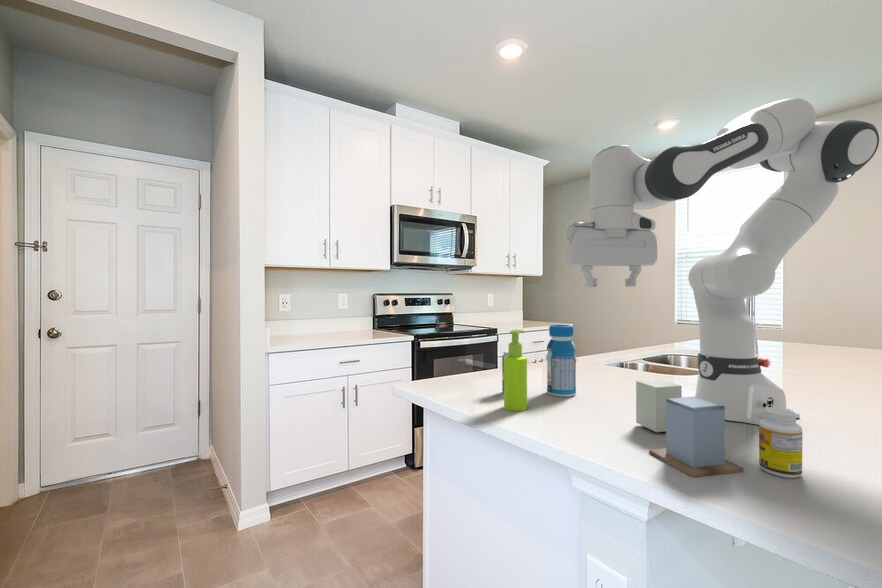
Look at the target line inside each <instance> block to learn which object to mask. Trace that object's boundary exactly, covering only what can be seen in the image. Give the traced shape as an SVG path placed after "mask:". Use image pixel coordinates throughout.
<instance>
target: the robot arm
mask: <svg viewBox="0 0 882 588" xmlns="http://www.w3.org/2000/svg"><path fill="white" fill-rule="evenodd" d="M816 113H817V112H816V110H815V107H814V106H813V104H812V103H811V102H809V101H808V100H806V99H804V98H801V97H790V98H789V97H788V98H785V99H781V100H777V101H773V102H771V103H768V104H764V105H761V106H760V107H759V106H758V107H757V108H755V109H752V110H749V111H748V112H746V113H744V114H742V115H740V116H738V117H736V118H735V119H733V120H731V121H730V122H728V124H725V126H723V127H722V128H720V129H719V131H718V132H717V135H716V137H714V138H712V139H709V140H707V141H706V142H704V143H701V144H693V145H691V144H689V145H688V144H687V145H676V146H671V147H669V148H666V149H665V150H663V151H662V152H661V153H659V154H658V155H657V156H656V157H654V158H652V159H651V160H650V159H647V158H644V157H642V156H640V155H639V154H637V153H636V152H635V151H634V150H632V148H631V147H630V145H627V144H617V145H612V146H609V147H607V148H604V149H603V150H601V151H599V152H598V153H597V154H596V155H595V156H594V157H593V158H592V161H591V165H590V175H589V194H590V197H591V203H590V207H589V221H588V222H587V221H585V222H580V221H574V222H573V223H571V224H570V225H569V226H568V227H567V230H566V237H567V241H566V250H565V262H566V263H567V265H568V266H579V267H581V269H580V270H581V272H582V273H581V274H583V276H584V278H585V279H586V284H585V285H586V288H596V287H597V286H598V278H594V275H593V274H592V272H591V271H593V270H594V269H593V267H594V266H596V267H597V266H599V267H600V266H601V267H602V266H604V267H608V266H609V267H611V266H612V267H620V266H621V267H628V268H629V269H628V270H629V271H630V273H629V276H628V278H625V279H624V282H625V284H624V285H625V287H627V288H629V287H633V288H634V287H636V286H637V279H638V277H639V275H640V274H641V271H642V267H650V266H654V265H655V264H656V262H657V260H658V242H657V236H656V234H655V233H654V232H653V231H654V230H656V221H655V220H654V219H652V218H649V217H646V216H644V215H642V214H639V213H637V212H635V209H637V210H639V209H640V210H651V209H655V208H658V207H661V206H663V205H667V204H669V203H672V202H674V201H679V200H684V199H686V198H689V197H692V196H693V195H695V194H696V193H697V192H698V191H700V190H701V189H702V187H704V185H705V184H706V183H707V182H708V181H709V180H710V178H712V176H713V175H716V173H719V172H720V171H722V170H725V169H727V168H732V169H735V170H737V169H742V168H746V167H750V166H753V165H757V164H759V165H760V166H761V167H762V168H763V169H766V170H767V171H771V172H776V173H781V172H783V173H784V172H785V173H787V176H786V178H785V181H784V182H783V184H782V185H781V186H780V187H778V188H777V189H776V190H775V191H774V192H772V194H770V196H769V197H768V198H767V199H766V200H764V202H763V203H762V204H761V205H760V206H759V207H758V208H757V209H756V210H755V211H754V212H753V213H752V214H751V215H750V216H749V218H747V219H746V220H745V221H744V223H743V224H741V225H740V228H739V232H738V234H737V235H736V237H735V239H734V240H733V241H732V243H731V245H730V246H729V247H728V248H727V249H725V250H724V251H723V252H721V253H720V254H714V255H709V256H706V257H704V258H702V259H700V260H699V261H697V262H696V263H695V264H694V265H693V266H692V267H691V268H690V269H689V272H688V278H687V279H688V284H689V286H690V287H691V289H692V292H693V296H694V300H695V301H694V303H695V305H696V306H695V307H696V310H697V311H696V312H697V315H698V322H699V353H697V361H696V362H697V368H698V374H697V381H696V386H695V387H696V388H695V395H694V397H698V398H701V399H704V400H707V401H711V402H714V403H717V404H720V405H723V406H725V421H731V422H738V423H747V424H752V425H758V426H759V422H760V420H762V419H765V409H766V408H780V409H786V410H790V411H792V412H795V414H796V419H798V418H800V417H801V416H800V413H799V412H798V411H796V410H794V409H791V408H789V407H787V399H786V394H785V391H784V390H783V388H782V387H780V386H779V385H777V384H776V383H774V382H773V381H772V380H770V379H769V378H768V377H767V376H766V375H764V374H763V373H762V368H761V367H763V368H770V366H771V361H770V359H769V358H763V357H760V358H757V357H756V325H755V322H754V321H753V319H752V318H751V316H750V314H749V312H748V308H747V305H746V301H745V299H746V300H747V299H750V298H753V297H756V296H758V295H762V294H764V293H766V292H767V291H768V290H769V289H770V288H771V287H772V285H773V283H774V282H775V279H776V270H777V269H778V267H779V265H780V264H781V262H782V260H783V259H784V257H785V256H786V255H787V254H788V252H789V251H790V250H791V249H792V248H793V247H794V246H795V245H796V244H797V243H798V241H800V240H801V238H802V237H803V236H804V235H806V234H807V232H808V231H809V230H810V229H811V228H812V227H813V226H814V225H815V224H816V223H817V222H818V221H819V220H820V219H821V218H822V216H823V215H824V214H825V213H826V212H827V210H828V209H829V207H830V206H831V205H832V203H833V201H834V200H835V198H836V197H837V195H838V193H839V185H838V183H841V182H844V181H847V180H848V179H850V178H851V177H853V176H854V175H855V173H856V172H859V171H860V170H862V168H863V167H865V166H866V165H867V163H868V162H870V161H871V159H872V158H873V157H874V155H875V154H876V152H877V150H878V148H879V143H880V135H879V131H878V129H877V126H876V125H874V124H873V123H870V122H867V121H864V120H857V119H856V120H855V119H854V120H853V119H850V120H824V121H823V120H821V121H816V119H817V114H816Z"/></svg>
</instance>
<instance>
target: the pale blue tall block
mask: <svg viewBox="0 0 882 588" xmlns="http://www.w3.org/2000/svg"><path fill="white" fill-rule="evenodd" d="M725 423H726V420H725V406H723V405H720V404H717V403H714V402H711V401H707V400H704V399H701V398H698V397H695V396H686V397H683V396H682V398H669V399H666V431H665V442H666V443H665V445H666V446H665V448H666V453H667V454H669V455H671V456H672V457H674V458H676V459H678V460H680V461H682V462H684V463H686V464H688V465H689V466H691V467H693V468H696V467H705V466H714V465H723V464H725V460H726V459H725V457H726V456H725V453H726V452H725V450H726V448H725V447H726V446H725V443H726V442H725V441H726V438H725V437H726V431H725V430H726V429H725V428H726V426H725V425H726V424H725Z"/></svg>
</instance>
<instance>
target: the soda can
mask: <svg viewBox="0 0 882 588" xmlns="http://www.w3.org/2000/svg"><path fill="white" fill-rule="evenodd" d="M505 356H509V351H504V352H503V354H502V357H501V359H502V361H501V368H502V370H501V372H502V375H501V376H502V379H501V381H502V382H501V383H502V384H501V385H502V387H501V389H502V393H503V394H504V357H505Z"/></svg>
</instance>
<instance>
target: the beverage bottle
mask: <svg viewBox="0 0 882 588" xmlns="http://www.w3.org/2000/svg"><path fill="white" fill-rule="evenodd" d="M548 330H549V331H548V332H549V333H548V334H549V337H550V340H549V341H548V343H547V346H546V351H547V354H546V356H545V357H546V363H547V364H546V368H547V369H546V371H547V376H546V377H547V378H546V379H547V382H546V384H547V385H546V393H547V394H549V396H553V397H558V398H559V397H560V398H568V397H573V396H575V395H576V394H577V389H576V387H577V385H576V384H577V382H576V375H577V374H576V373H577V371H576V370H577V369H576V366H577V365H576V364H577V355H576V353H575V352H576V350H577V346H576V345H575V343H574V341H573V340H572V338H573V337H574V326H573V325H571V324H570V325H569V324H550V325H549V327H548Z"/></svg>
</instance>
